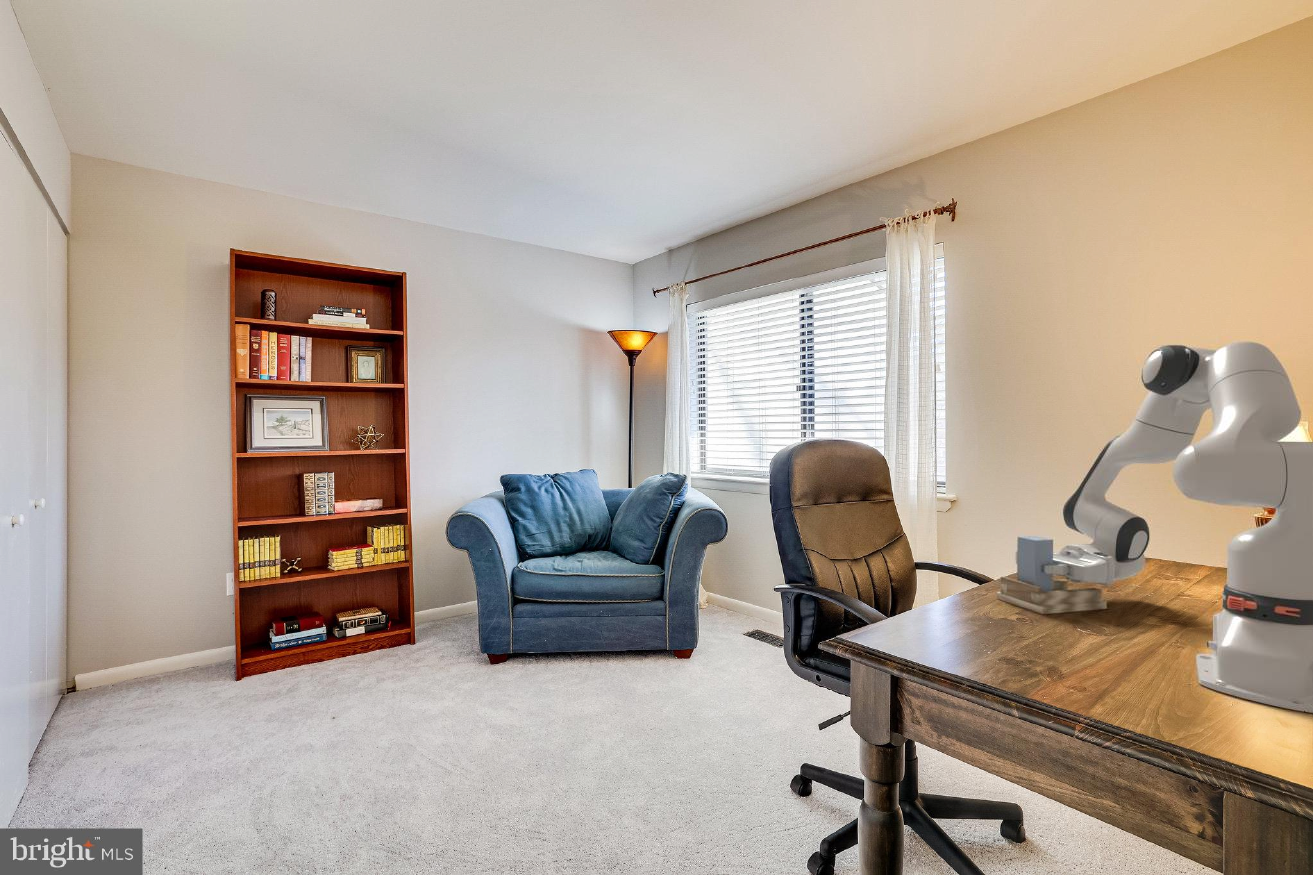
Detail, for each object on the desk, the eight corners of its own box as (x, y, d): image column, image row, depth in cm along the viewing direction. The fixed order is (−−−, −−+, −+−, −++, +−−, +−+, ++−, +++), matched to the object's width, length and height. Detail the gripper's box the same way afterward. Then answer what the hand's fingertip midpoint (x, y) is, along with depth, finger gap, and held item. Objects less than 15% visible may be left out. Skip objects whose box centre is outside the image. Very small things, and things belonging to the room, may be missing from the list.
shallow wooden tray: (1042, 614, 137) (1042, 589, 137) (996, 598, 150) (996, 575, 149) (1106, 608, 141) (1106, 584, 141) (1056, 593, 154) (1057, 571, 154)
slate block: (1034, 601, 141) (1035, 540, 141) (1016, 596, 146) (1017, 536, 146) (1052, 600, 143) (1053, 539, 142) (1034, 594, 147) (1034, 535, 147)
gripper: (1042, 542, 158) (996, 544, 154) (1120, 558, 138) (1070, 561, 134) (1041, 567, 158) (996, 570, 154) (1120, 586, 138) (1070, 590, 134)
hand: (1031, 566), depth 144 cm, fingers closed on slate block, 5 cm apart
